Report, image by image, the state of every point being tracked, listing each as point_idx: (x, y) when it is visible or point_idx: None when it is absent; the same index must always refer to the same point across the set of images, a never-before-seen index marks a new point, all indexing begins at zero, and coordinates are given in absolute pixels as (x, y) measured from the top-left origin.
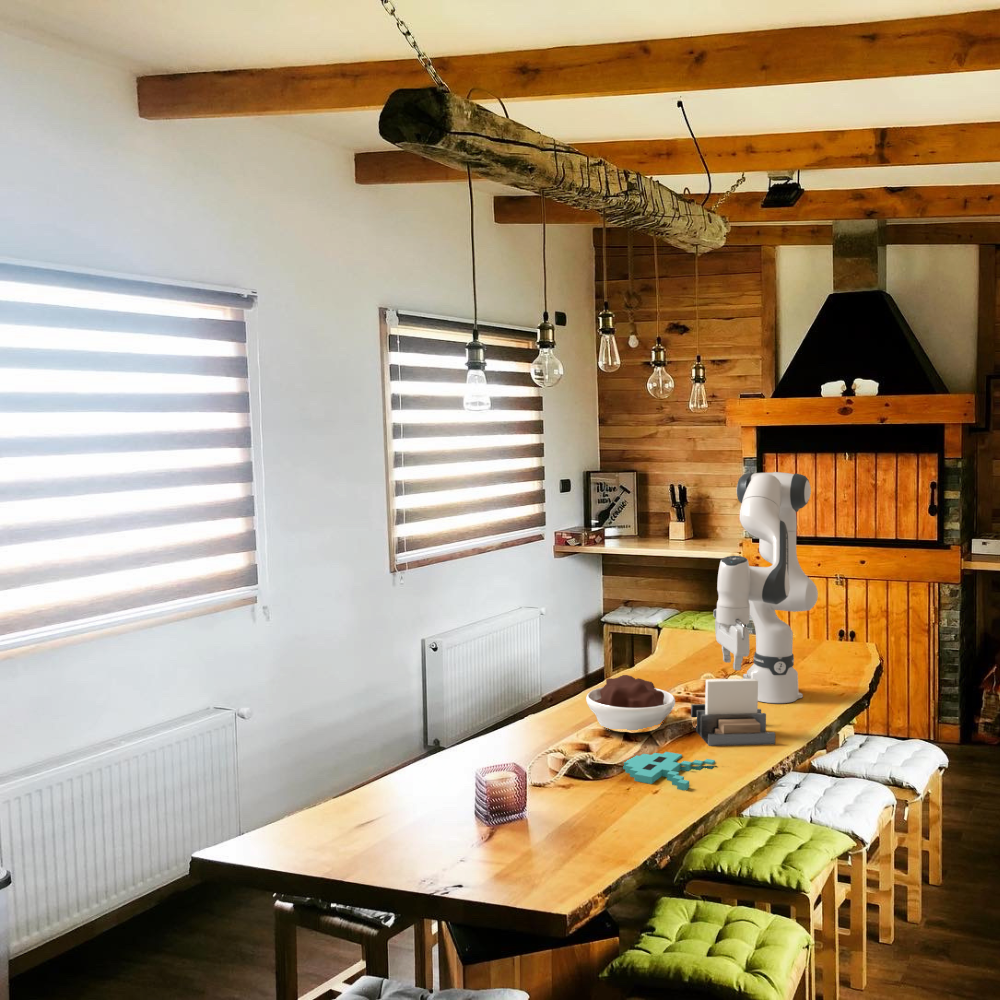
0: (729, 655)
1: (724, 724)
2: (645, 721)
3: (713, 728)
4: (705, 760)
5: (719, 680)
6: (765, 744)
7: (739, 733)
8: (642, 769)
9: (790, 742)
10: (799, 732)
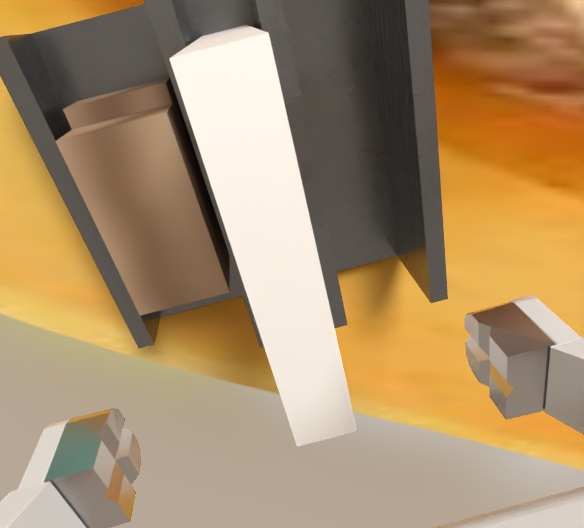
0: (546, 405)
1: (70, 145)
2: None
3: None
4: None
5: (252, 186)
6: None
7: (80, 210)
8: None
9: (239, 355)
10: (357, 379)
